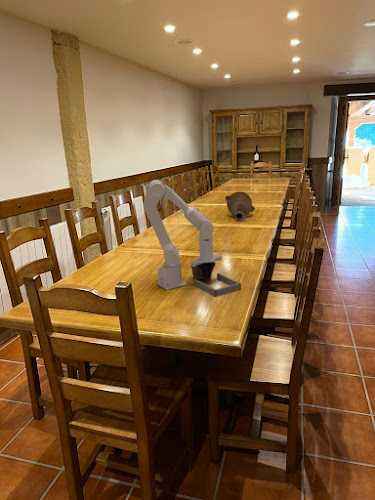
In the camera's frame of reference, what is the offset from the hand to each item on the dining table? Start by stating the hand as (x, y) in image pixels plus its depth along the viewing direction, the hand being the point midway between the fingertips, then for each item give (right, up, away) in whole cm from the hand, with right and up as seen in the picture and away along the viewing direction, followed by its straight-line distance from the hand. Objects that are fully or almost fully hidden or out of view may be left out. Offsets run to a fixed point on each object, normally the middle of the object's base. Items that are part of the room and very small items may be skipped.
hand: (207, 278), depth 160 cm
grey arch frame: (+4, -3, -6) cm, 7 cm away
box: (-2, 0, +4) cm, 4 cm away
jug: (+31, +36, +126) cm, 135 cm away
